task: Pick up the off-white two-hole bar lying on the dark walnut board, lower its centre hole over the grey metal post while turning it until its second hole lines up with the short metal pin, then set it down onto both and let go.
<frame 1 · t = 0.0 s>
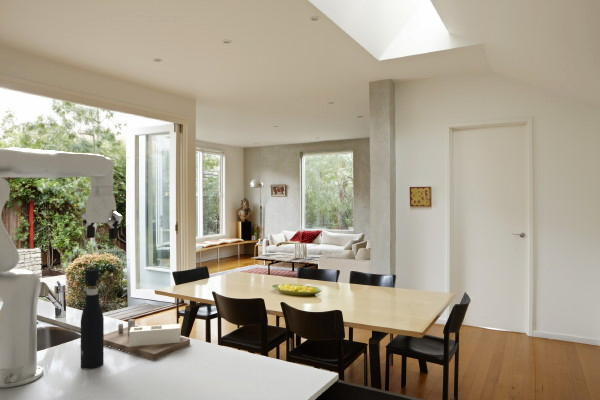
hand: (101, 238, 151), 37 cm above the kitchen counter, tool pointing down, fingers open, 9 cm apart
flange bar: (156, 341, 145), point 2 cm above the kitchen counter, touching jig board
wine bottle: (92, 365, 130), on the kitchen counter
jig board: (142, 343, 148), on the kitchen counter
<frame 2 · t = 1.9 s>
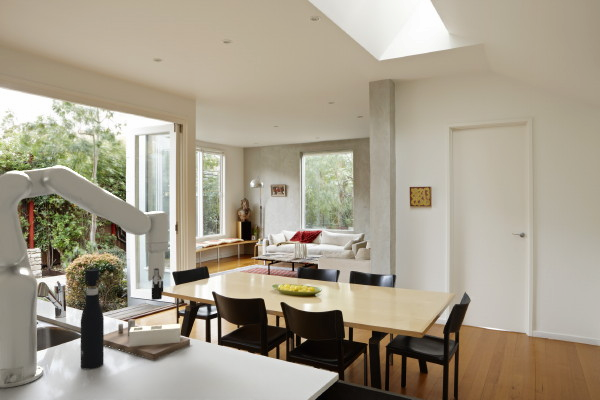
hand: (157, 295, 145), 18 cm above the kitchen counter, tool pointing down, fingers open, 9 cm apart
nothing on the kitchen counter moved.
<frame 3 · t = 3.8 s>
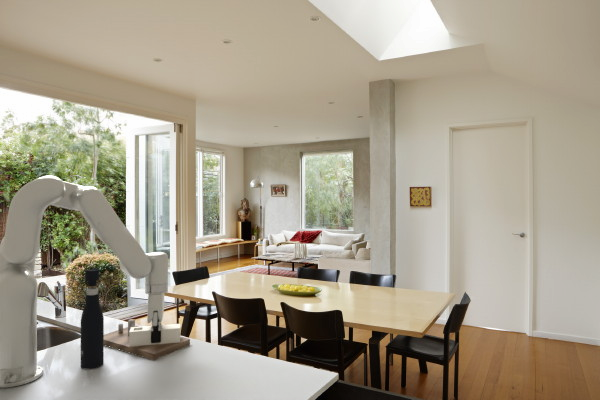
hand: (156, 339, 145), 3 cm above the kitchen counter, tool pointing down, fingers closed on flange bar, 5 cm apart
flange bar: (156, 341, 145), point 2 cm above the kitchen counter, touching gripper, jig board
everything else where it was.
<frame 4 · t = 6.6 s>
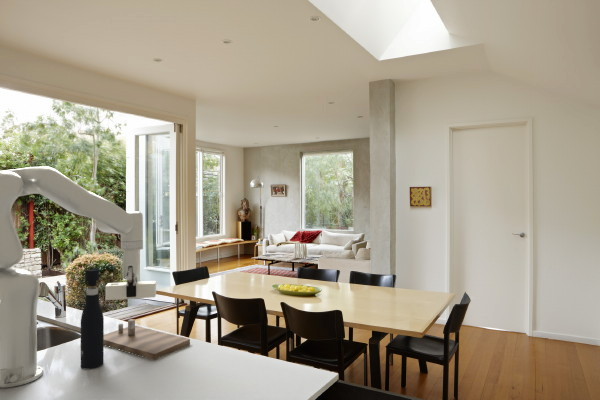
hand: (132, 294, 151), 17 cm above the kitchen counter, tool pointing down, fingers closed on flange bar, 5 cm apart
flange bar: (132, 296, 151), point 16 cm above the kitchen counter, touching gripper
everything else where it was.
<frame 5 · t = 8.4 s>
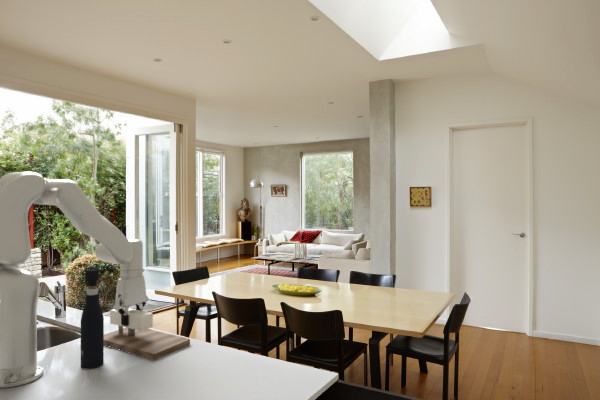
hand: (131, 322, 151), 7 cm above the kitchen counter, tool pointing down, fingers closed on flange bar, 5 cm apart
flange bar: (131, 325, 151), point 6 cm above the kitchen counter, touching gripper
everything else where it was.
when the fingers open (4 cm above the kitchen counter, at t = 9.6 s): flange bar stays where it is, resting on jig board.
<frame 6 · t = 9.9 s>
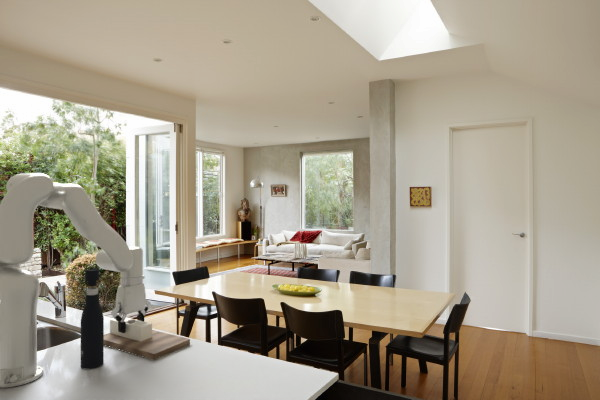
hand: (131, 328, 151), 4 cm above the kitchen counter, tool pointing down, fingers open, 7 cm apart
flange bar: (131, 335, 151), point 2 cm above the kitchen counter, touching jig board
everything else where it was.
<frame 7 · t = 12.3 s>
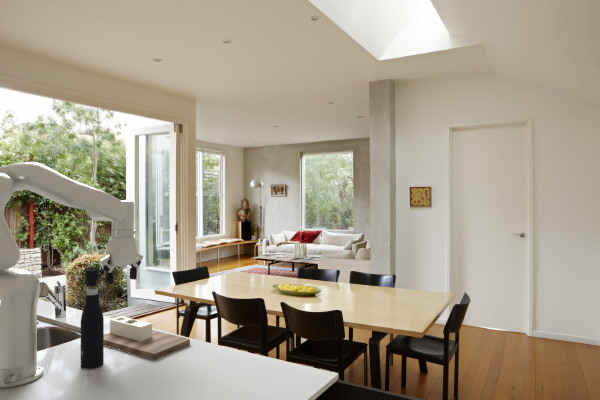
hand: (121, 281, 151), 22 cm above the kitchen counter, tool pointing down, fingers open, 9 cm apart
nothing on the kitchen counter moved.
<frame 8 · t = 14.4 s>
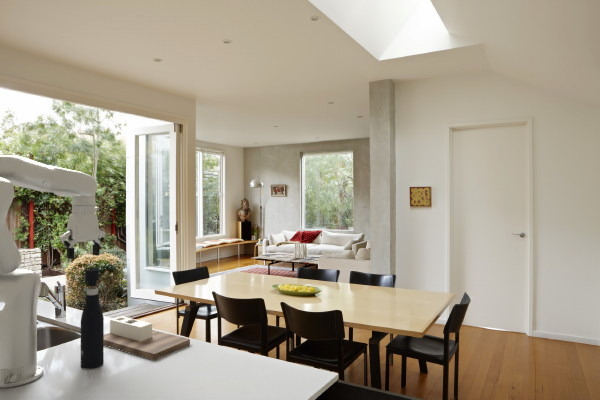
hand: (83, 256, 152), 30 cm above the kitchen counter, tool pointing down, fingers open, 9 cm apart
nothing on the kitchen counter moved.
at the end: flange bar 0.1 cm from the target spot, point 2.0 cm above the kitchen counter; flange bar tilted 0°; the gripper is holding nothing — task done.
